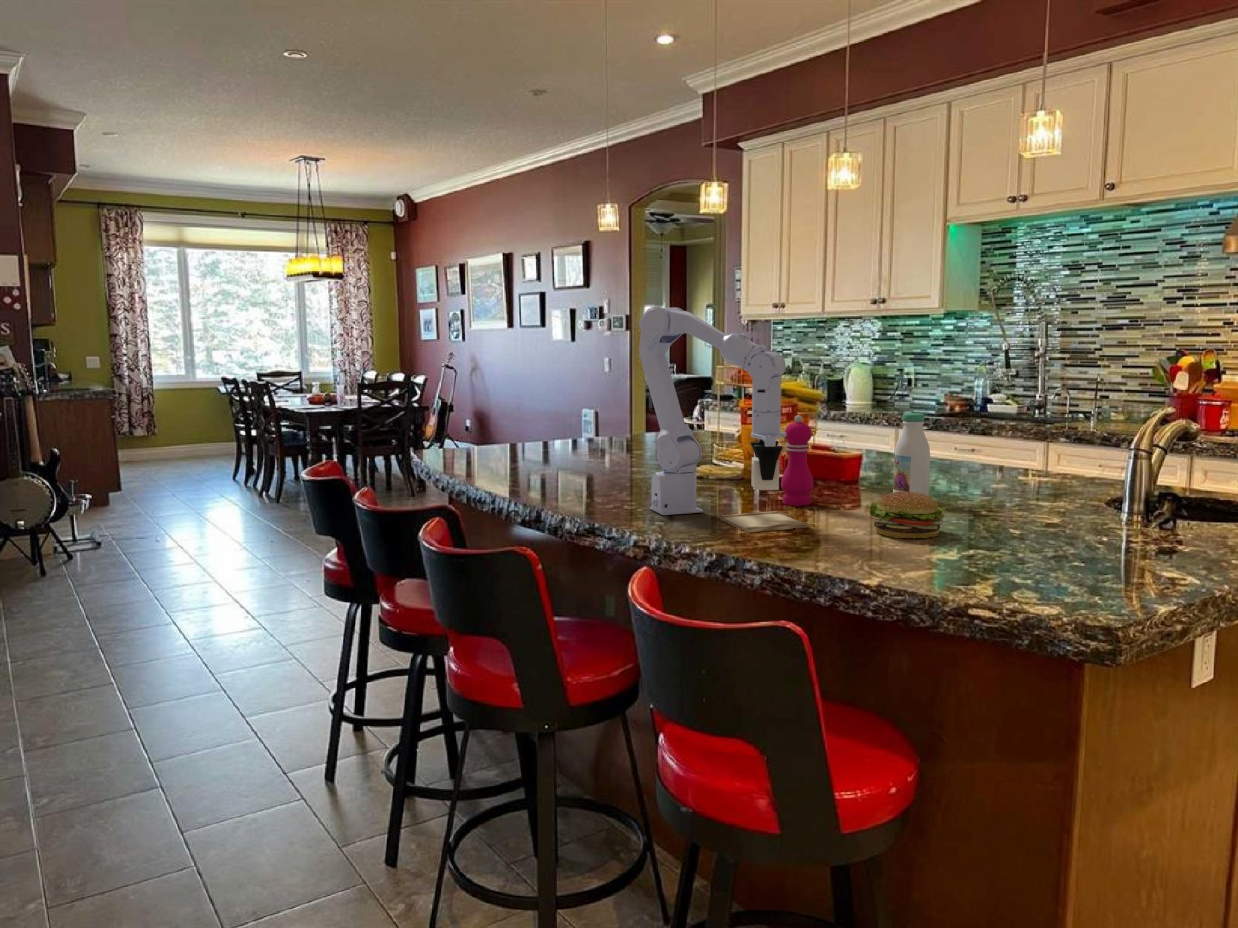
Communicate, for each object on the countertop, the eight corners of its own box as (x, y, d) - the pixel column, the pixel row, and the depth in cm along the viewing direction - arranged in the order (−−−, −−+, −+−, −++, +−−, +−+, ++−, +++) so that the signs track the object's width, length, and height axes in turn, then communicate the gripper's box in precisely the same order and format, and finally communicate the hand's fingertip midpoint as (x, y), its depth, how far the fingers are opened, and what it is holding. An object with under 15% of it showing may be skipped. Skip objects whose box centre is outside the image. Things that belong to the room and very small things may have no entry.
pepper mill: (813, 506, 196) (815, 416, 193) (780, 506, 197) (781, 416, 195) (813, 500, 203) (814, 413, 200) (781, 500, 204) (782, 413, 202)
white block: (778, 490, 179) (779, 460, 178) (753, 489, 179) (754, 460, 178) (775, 486, 184) (776, 457, 183) (751, 485, 184) (751, 457, 183)
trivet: (747, 532, 171) (747, 527, 171) (720, 519, 183) (720, 515, 183) (807, 527, 175) (807, 523, 175) (776, 515, 187) (776, 511, 187)
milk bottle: (923, 498, 204) (927, 412, 202) (932, 504, 197) (935, 415, 194) (889, 498, 205) (892, 412, 202) (896, 504, 198) (899, 415, 195)
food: (951, 529, 172) (953, 489, 171) (936, 544, 160) (938, 500, 159) (880, 522, 179) (881, 483, 178) (861, 536, 167) (862, 494, 166)
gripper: (791, 414, 172) (790, 483, 174) (781, 408, 186) (780, 472, 188) (755, 414, 172) (754, 483, 174) (747, 408, 186) (747, 472, 188)
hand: (765, 477), depth 181 cm, fingers closed on white block, 5 cm apart
